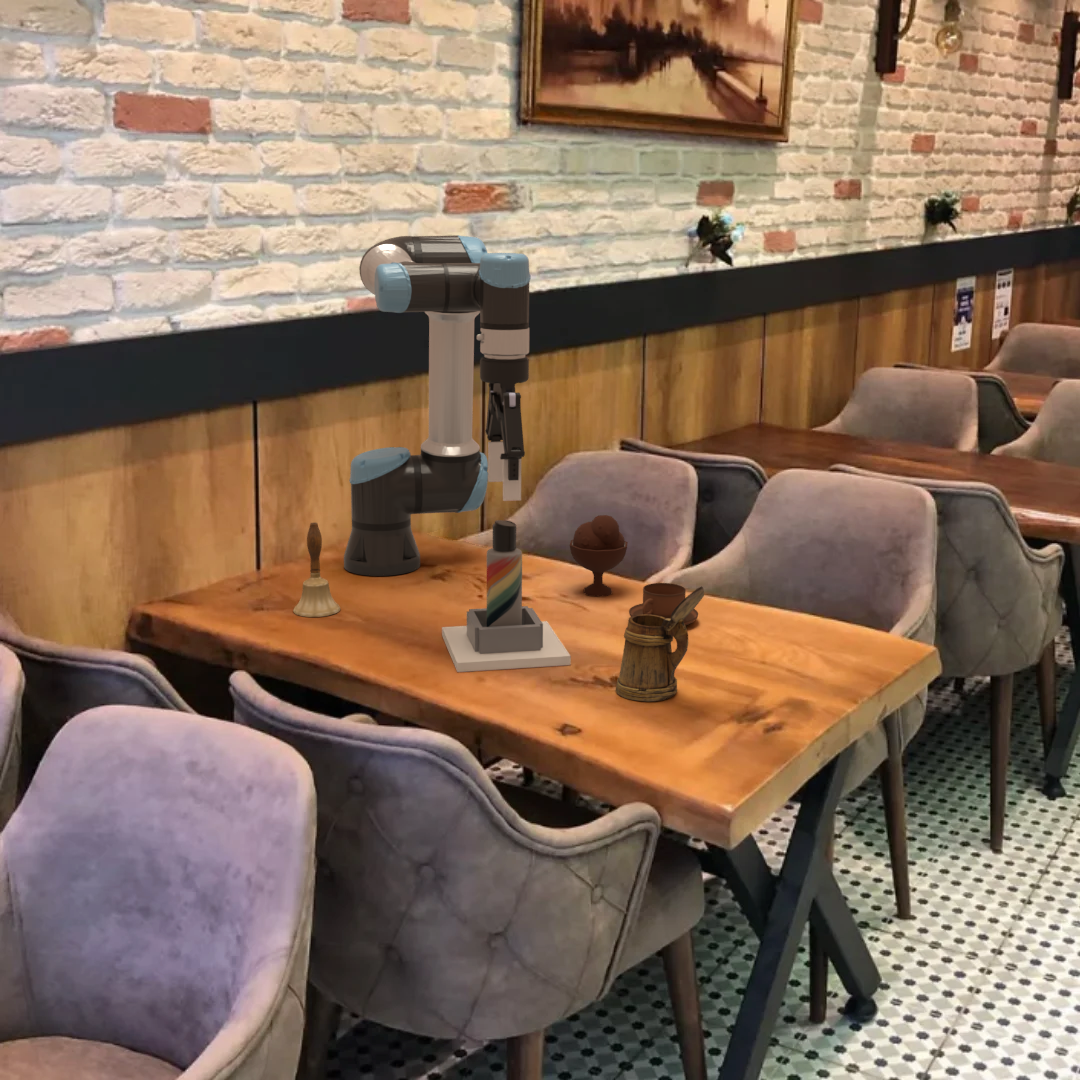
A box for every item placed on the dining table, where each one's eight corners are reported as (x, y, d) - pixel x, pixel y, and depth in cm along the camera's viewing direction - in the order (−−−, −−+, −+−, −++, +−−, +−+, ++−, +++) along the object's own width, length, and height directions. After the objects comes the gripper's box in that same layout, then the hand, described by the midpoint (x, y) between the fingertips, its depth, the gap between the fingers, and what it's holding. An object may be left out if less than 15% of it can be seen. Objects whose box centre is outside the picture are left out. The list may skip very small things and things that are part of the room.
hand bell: (286, 607, 236) (283, 521, 232) (330, 601, 240) (327, 516, 236) (302, 620, 229) (299, 531, 225) (347, 613, 233) (344, 525, 229)
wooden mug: (681, 714, 188) (686, 593, 184) (604, 693, 196) (606, 576, 192) (713, 696, 195) (718, 580, 190) (637, 676, 203) (640, 564, 198)
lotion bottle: (487, 634, 217) (487, 516, 212) (522, 635, 217) (523, 517, 212) (485, 646, 211) (485, 525, 206) (520, 646, 211) (521, 525, 206)
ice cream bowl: (627, 584, 251) (629, 508, 248) (625, 602, 241) (627, 522, 237) (571, 582, 252) (572, 506, 249) (567, 599, 242) (568, 520, 238)
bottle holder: (441, 635, 221) (441, 604, 220) (546, 629, 225) (547, 598, 223) (457, 672, 204) (457, 638, 203) (570, 664, 208) (570, 631, 206)
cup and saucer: (688, 637, 222) (689, 602, 221) (620, 628, 226) (621, 594, 225) (704, 616, 233) (706, 583, 231) (639, 609, 237) (640, 576, 235)
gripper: (468, 346, 214) (468, 474, 219) (494, 366, 190) (494, 509, 195) (513, 346, 215) (512, 473, 221) (545, 365, 192) (543, 507, 197)
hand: (504, 490), depth 208 cm, fingers open, 13 cm apart
